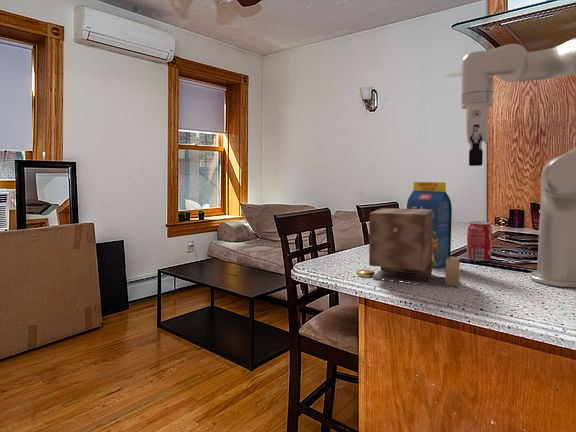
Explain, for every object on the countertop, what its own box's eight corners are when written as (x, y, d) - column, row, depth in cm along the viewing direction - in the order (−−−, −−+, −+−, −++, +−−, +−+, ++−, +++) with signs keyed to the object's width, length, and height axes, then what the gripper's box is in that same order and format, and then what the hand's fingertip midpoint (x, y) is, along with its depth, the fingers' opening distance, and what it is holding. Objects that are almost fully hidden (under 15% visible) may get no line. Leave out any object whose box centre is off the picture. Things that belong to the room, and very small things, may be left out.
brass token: (376, 274, 114) (376, 270, 113) (371, 279, 109) (371, 274, 109) (359, 272, 116) (359, 268, 116) (354, 277, 111) (354, 273, 111)
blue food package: (436, 268, 118) (438, 182, 115) (405, 261, 128) (406, 182, 125) (450, 265, 121) (452, 182, 118) (419, 258, 131) (420, 181, 129)
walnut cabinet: (431, 274, 112) (433, 209, 110) (423, 287, 99) (425, 215, 97) (381, 269, 118) (381, 208, 116) (368, 281, 106) (368, 213, 104)
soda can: (483, 257, 131) (485, 220, 129) (495, 262, 124) (497, 223, 122) (462, 258, 130) (463, 221, 129) (473, 263, 123) (474, 224, 122)
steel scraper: (459, 282, 104) (460, 255, 104) (457, 289, 98) (458, 261, 97) (379, 274, 114) (379, 250, 113) (372, 280, 108) (372, 255, 107)
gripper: (493, 94, 98) (492, 165, 100) (491, 104, 114) (490, 165, 115) (460, 97, 101) (459, 166, 103) (462, 106, 117) (461, 166, 119)
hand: (475, 165), depth 109 cm, fingers open, 9 cm apart
